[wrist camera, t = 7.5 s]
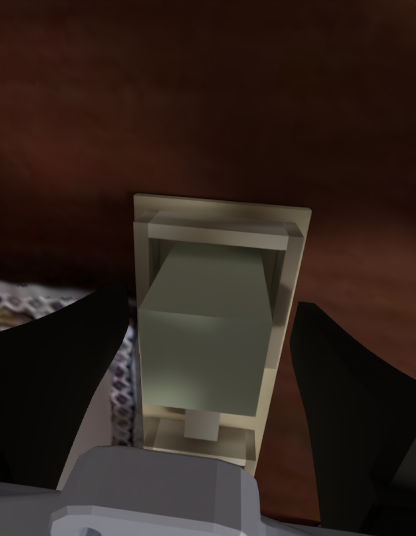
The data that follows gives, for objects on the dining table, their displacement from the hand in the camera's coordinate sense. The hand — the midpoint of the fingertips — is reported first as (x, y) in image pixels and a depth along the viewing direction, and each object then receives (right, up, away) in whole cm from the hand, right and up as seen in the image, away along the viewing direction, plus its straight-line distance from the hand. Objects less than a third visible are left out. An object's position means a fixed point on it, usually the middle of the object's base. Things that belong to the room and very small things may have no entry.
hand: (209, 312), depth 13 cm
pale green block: (0, +1, +2) cm, 3 cm away
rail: (0, -5, +6) cm, 8 cm away
